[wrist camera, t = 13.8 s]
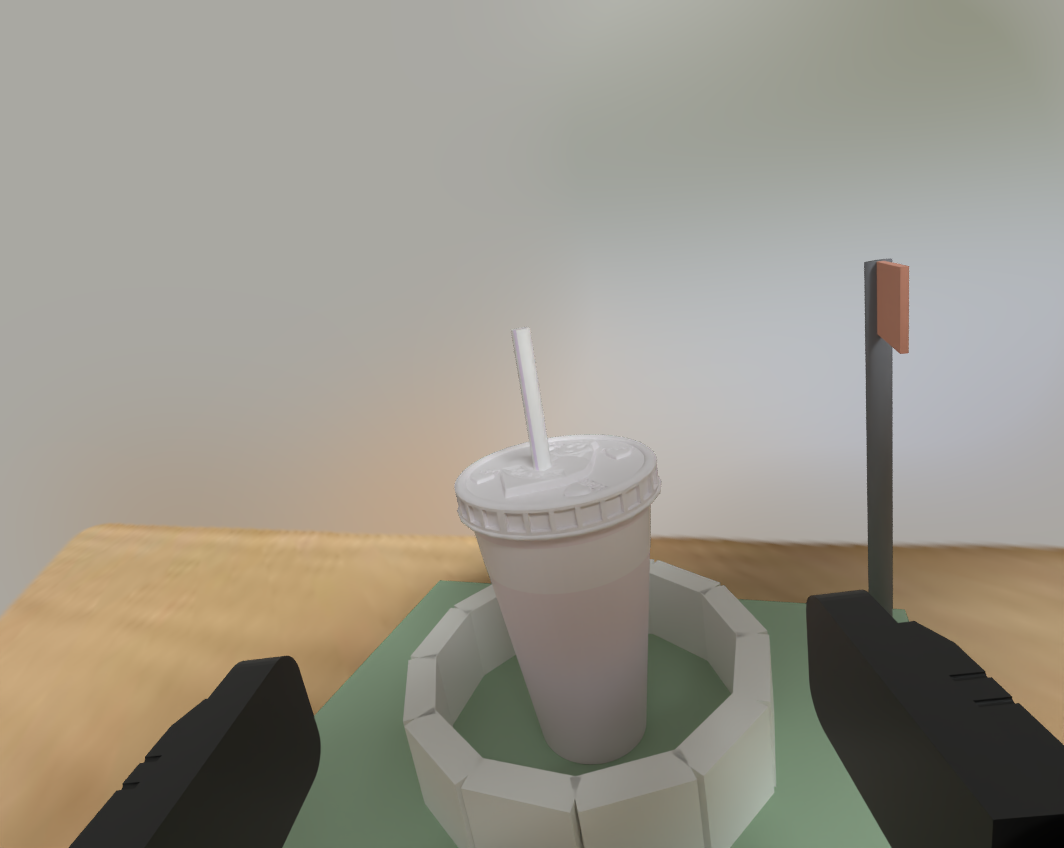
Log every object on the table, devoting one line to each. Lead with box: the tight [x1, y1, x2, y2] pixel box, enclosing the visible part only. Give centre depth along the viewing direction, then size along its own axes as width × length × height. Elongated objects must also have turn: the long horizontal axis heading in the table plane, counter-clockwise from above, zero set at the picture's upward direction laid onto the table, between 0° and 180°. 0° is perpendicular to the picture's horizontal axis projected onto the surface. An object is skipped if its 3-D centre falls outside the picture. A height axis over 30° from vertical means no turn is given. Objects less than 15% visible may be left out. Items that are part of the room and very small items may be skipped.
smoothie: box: [455, 327, 661, 765], centre depth 18 cm, size 6×6×14 cm
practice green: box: [282, 259, 909, 848], centre depth 19 cm, size 22×16×15 cm
